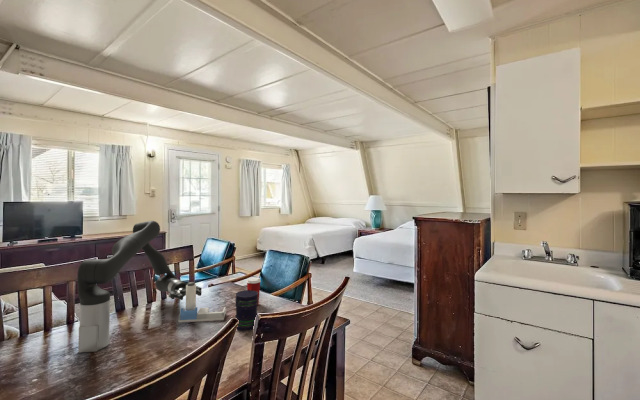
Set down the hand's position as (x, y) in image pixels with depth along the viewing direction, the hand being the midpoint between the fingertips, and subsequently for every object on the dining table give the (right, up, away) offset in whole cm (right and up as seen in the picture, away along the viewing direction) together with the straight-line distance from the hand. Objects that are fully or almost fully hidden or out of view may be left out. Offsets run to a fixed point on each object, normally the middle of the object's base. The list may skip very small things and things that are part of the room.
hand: (191, 295), depth 142 cm
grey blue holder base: (+5, -11, +1) cm, 12 cm away
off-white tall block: (-1, -10, 0) cm, 10 cm away
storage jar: (+28, -12, -8) cm, 31 cm away
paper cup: (+25, -12, +20) cm, 34 cm away
